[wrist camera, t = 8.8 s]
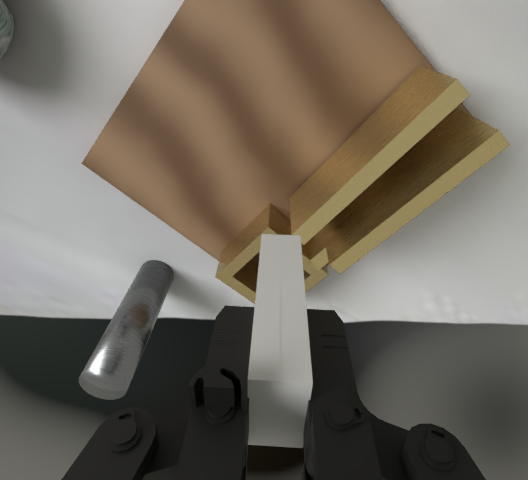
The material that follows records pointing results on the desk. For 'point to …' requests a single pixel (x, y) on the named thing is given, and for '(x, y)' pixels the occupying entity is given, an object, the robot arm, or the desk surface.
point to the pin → (127, 333)
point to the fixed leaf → (372, 204)
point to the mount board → (248, 107)
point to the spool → (5, 28)
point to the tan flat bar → (374, 148)
